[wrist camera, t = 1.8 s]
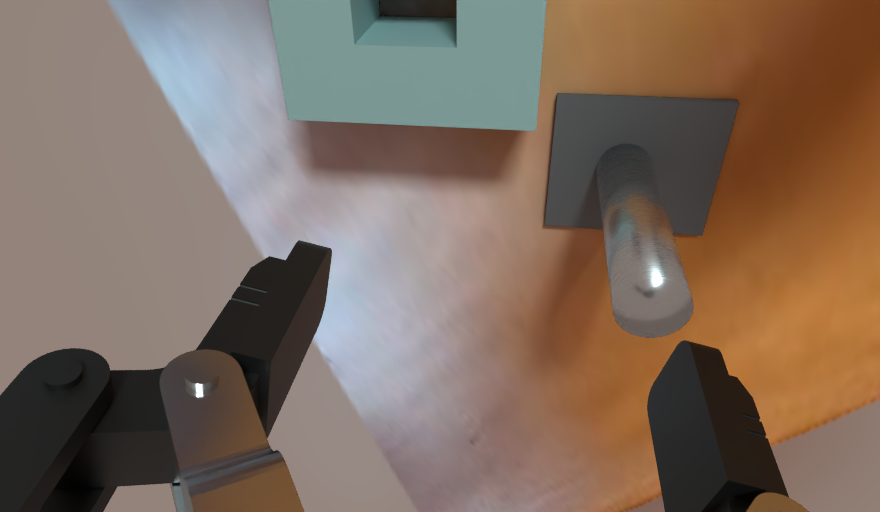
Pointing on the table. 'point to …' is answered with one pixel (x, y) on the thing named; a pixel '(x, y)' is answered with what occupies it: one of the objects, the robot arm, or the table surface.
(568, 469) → the table surface
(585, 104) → the mat
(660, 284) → the pin
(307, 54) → the socket block
